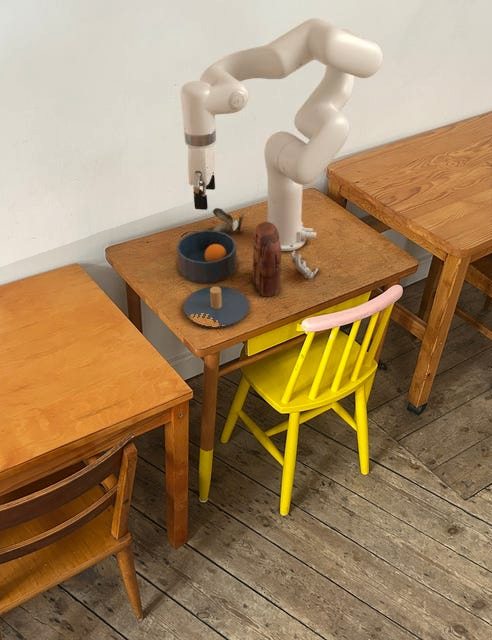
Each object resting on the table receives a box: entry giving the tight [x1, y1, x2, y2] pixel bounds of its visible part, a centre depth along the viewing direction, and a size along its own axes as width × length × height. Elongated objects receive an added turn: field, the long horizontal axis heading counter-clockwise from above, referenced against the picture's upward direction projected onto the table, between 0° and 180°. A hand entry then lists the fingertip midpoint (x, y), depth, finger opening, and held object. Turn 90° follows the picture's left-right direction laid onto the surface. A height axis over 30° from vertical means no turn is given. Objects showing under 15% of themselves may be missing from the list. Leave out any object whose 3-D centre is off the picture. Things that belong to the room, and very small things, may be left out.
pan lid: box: [183, 285, 250, 329], centre depth 186 cm, size 16×16×6 cm
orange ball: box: [205, 244, 227, 262], centre depth 200 cm, size 6×6×6 cm
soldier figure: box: [289, 249, 319, 282], centre depth 198 cm, size 8×5×12 cm
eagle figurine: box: [210, 207, 245, 234], centre depth 213 cm, size 8×7×9 cm
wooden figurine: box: [252, 221, 282, 297], centre depth 189 cm, size 12×6×18 cm, turn 16°
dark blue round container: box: [176, 229, 238, 284], centre depth 200 cm, size 16×16×6 cm
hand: (205, 198), depth 188 cm, fingers open, 9 cm apart
